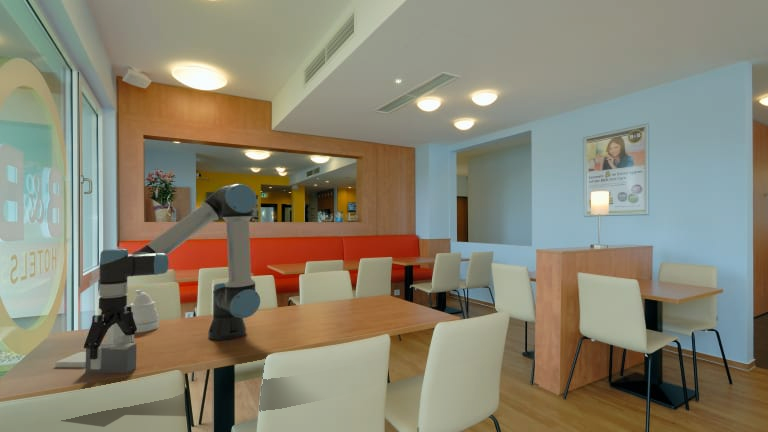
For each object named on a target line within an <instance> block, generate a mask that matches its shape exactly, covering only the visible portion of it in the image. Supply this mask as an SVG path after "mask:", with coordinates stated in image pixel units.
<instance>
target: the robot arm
mask: <svg viewBox="0 0 768 432" xmlns="http://www.w3.org/2000/svg"><path fill="white" fill-rule="evenodd" d="M256 203H257V195H256V193H255V191H254V189H252V188H251V187H250V186H249V185H246V184H243V183H234V184H230V185H226V186H222V187H220V188H218V189H217V190H215V192H213V193H212V194H210V195H209V196H208V197H207V198H206V199H204V200H203V201H201V202H200V206H199V207H197V208H196V209H195V210H193V211H192V212H191V213H189V214H188V215H186V216H185V217H184V218H182V219H181V220H179V221H178V222H177V223H175V224H174V225H172V226H171V227H169V228H168V229H167V230H165V231H164V232H163V233H161V234H159V235H158V236H157V237H155V238H154V239H152V241H150V242H148V243H147V244H146V245H145V246H142V248H140V249H138V250H137V251H136V250H135V251H134V252H132V253H129V250H128V249H126V248H109V249H108V248H107V249H103V250H102V251H101V252H100V255H99V257H100V258H99V292H98V295H99V296H100V297H99V296H98V297H99V298H98V309H100V310H101V312H100V314H97V315H95V314H94V315H92V318H91V324H90V327H89V331H88V334H87V336H86V338H85V342H84V345H83V349H86V348H87V349H90V359H91V369H101V348H100V347H99V346H100V344H102V342H103V340H104V338H105V336H107V331H108V329H109V328H110V327H111V326H112V325H114V324H115V323H117V325H118V326H119V327H120V329H121V330H122V332H123V333H124V334H125V335H123V336H122V343H133V342H132V335H134V336H135V334H136V333H135V331H136V330H137V328H136V325H135V322H134V319H133V316H132V313H131V307H130V306H127V305H128V295H127V293H128V278H129V277H140V276H158V275H164V274H167V272H168V270H169V266H170V265H169V264H170V261H169V256H168V255H169V254H170V253H171V252H173V251H174V250H175V249H177V248H178V247H180V246H181V245H182V244H183V243H185V242H186V241H187V240H189V239H190V238H192V237H193V236H195V234H197V233H199V231H201V230H202V229H203V228H205V227H206V226H208V224H210V223H211V222H212V221H218V220H219V219H221V218H222V219H223V220H224V221H225V222H226V242H227V243H226V244H227V268H228V272H227V273H228V281H227V282H217V283H215V284H214V285H213V290H212V293H213V294H212V295H213V298H212V301H213V302H212V304H213V305H212V307H213V308H212V309H213V311H212V320H211V324H210V326H209V330H208V336H207V337H208V339H210V340H215V341H225V340H226V341H227V340H234V339H238V338H241V337H243V336H245V335H246V333H247V327H246V324H245V321H244V319H247V318H250V317H251V316H254V314H255V313H257V311H258V310H259V307H260V305H261V296H260V295H259V293H258V292H257V291H256V281H254V279H252V268H251V266H252V265H251V264H252V263H251V244H250V243H251V242H250V221H251V219H252V218H253V209H254V208H255V207H256V205H257V204H256ZM131 327H132V328H131ZM95 344H96V345H95Z"/></svg>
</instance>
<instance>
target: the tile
mask: <svg viewBox="0 0 768 432" xmlns="http://www.w3.org/2000/svg"><path fill="white" fill-rule="evenodd" d="M55 368H86V351H80V352H76V353H74V354H72V355H69V356H67V357H64V358H62V359H59V360H57V361H55Z"/></svg>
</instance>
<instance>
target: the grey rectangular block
mask: <svg viewBox="0 0 768 432" xmlns="http://www.w3.org/2000/svg"><path fill="white" fill-rule="evenodd" d="M95 345H96V344H95ZM137 346H138V345H137V342H131V343H117V344H107V343H105V344H104V343H101V344H100V346H99V347H100V348H101V369H91V359H90V349H87V348H85V352H86V367H85V370H84V371H85V372H84V373H89V374H90V373H92V374H93V373H94V374H95V373H96V374H98V373H99V374H129V373H130V372H132V371H134V370H136V369H137ZM128 372H129V373H128Z"/></svg>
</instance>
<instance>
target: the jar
mask: <svg viewBox="0 0 768 432" xmlns="http://www.w3.org/2000/svg"><path fill="white" fill-rule="evenodd" d="M131 313H132V316H133V312H131ZM133 319H134V318H133ZM131 328H132V327H131ZM123 335H125V334H124V333H123V332H122V330H121V329H120V327H119V326H118V325H117V323H115V324H114V325H112V326H111V327H110V328H109V329H108V331H107V333H106V344H117V343H122V336H123ZM134 342H135V334H134V335H132V342H131V343H134Z"/></svg>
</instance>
